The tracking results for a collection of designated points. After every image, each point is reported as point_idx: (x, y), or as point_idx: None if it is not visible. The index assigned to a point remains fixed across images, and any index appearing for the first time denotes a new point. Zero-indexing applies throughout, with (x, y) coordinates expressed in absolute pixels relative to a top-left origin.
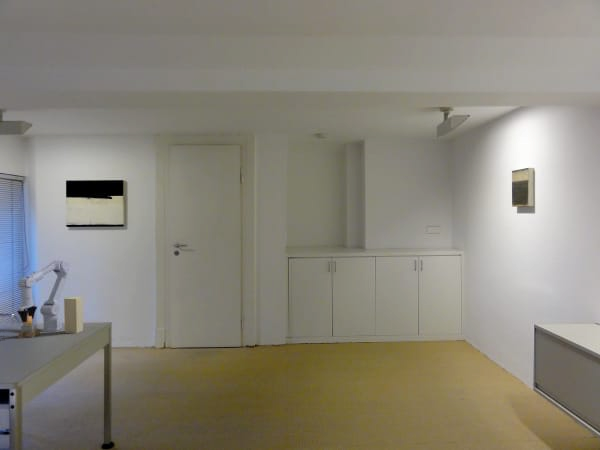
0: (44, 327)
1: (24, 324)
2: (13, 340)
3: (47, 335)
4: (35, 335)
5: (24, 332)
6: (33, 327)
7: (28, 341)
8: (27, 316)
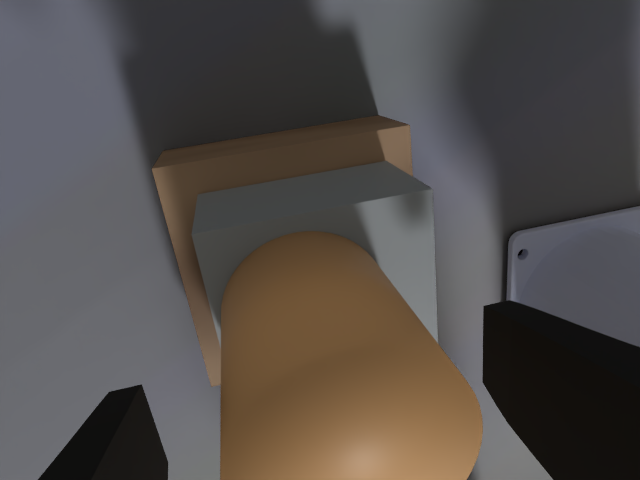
0: (559, 283)
1: (221, 317)
2: (13, 166)
3: None
4: None
5: (187, 265)
6: None
7: (6, 428)
8: (416, 416)
